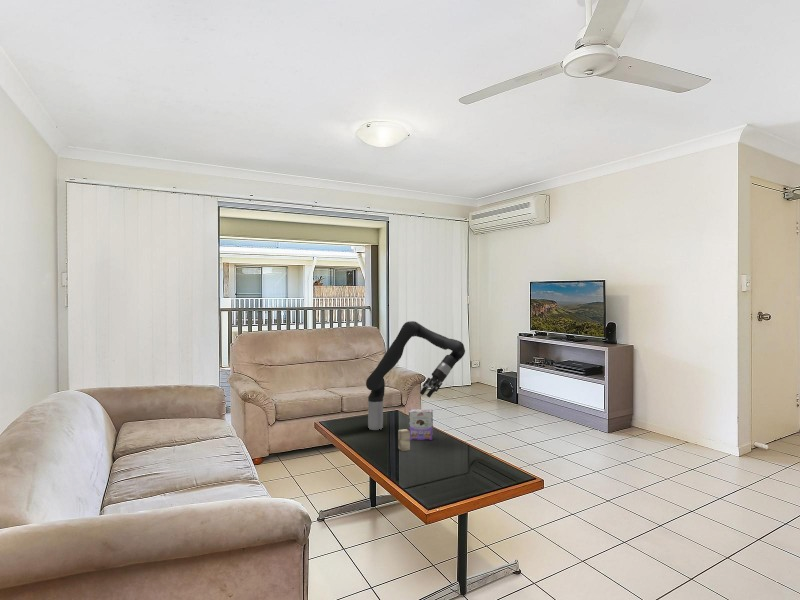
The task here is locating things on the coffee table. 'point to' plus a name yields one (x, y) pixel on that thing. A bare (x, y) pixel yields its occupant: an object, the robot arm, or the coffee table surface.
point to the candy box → (421, 424)
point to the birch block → (404, 440)
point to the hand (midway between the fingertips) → (424, 395)
